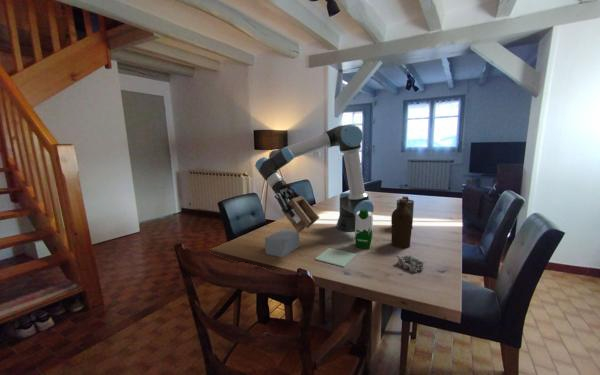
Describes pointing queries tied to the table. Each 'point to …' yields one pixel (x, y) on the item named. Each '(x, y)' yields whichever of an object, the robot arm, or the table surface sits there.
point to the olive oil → (401, 225)
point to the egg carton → (411, 263)
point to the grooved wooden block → (301, 213)
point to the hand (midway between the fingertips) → (304, 218)
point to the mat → (336, 257)
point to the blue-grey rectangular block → (281, 243)
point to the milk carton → (363, 229)
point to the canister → (407, 204)
